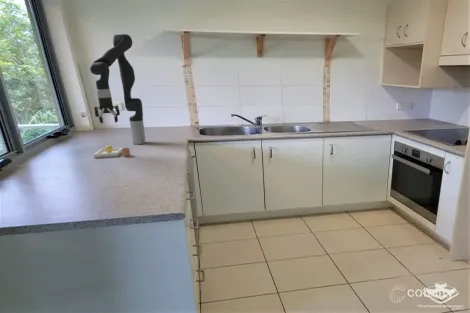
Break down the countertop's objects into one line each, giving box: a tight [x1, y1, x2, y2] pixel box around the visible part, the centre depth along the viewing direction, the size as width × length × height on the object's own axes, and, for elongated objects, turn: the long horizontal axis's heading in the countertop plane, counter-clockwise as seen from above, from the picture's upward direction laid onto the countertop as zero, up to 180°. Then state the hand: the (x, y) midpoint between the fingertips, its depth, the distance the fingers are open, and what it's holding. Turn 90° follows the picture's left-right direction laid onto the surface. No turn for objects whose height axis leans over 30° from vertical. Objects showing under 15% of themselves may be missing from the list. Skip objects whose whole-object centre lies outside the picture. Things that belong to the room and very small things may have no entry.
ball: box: [103, 145, 114, 153], centre depth 177 cm, size 5×5×5 cm
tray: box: [93, 147, 124, 159], centre depth 178 cm, size 14×14×2 cm
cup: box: [121, 147, 131, 158], centre depth 173 cm, size 5×5×5 cm
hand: (109, 122), depth 175 cm, fingers open, 8 cm apart
